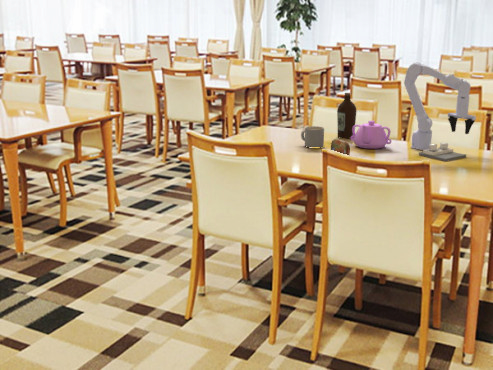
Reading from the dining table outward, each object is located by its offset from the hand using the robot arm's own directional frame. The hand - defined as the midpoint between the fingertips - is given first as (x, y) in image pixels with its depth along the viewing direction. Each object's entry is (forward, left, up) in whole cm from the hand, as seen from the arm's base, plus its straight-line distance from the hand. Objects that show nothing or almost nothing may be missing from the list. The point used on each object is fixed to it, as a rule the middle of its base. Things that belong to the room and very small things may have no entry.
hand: (460, 132), depth 306 cm
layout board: (+3, -16, -9) cm, 19 cm away
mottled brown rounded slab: (-24, -58, -10) cm, 64 cm away
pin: (0, -20, -8) cm, 21 cm away
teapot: (-32, -31, -10) cm, 46 cm away
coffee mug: (-52, -53, -10) cm, 75 cm away
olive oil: (-60, -22, -10) cm, 65 cm away
